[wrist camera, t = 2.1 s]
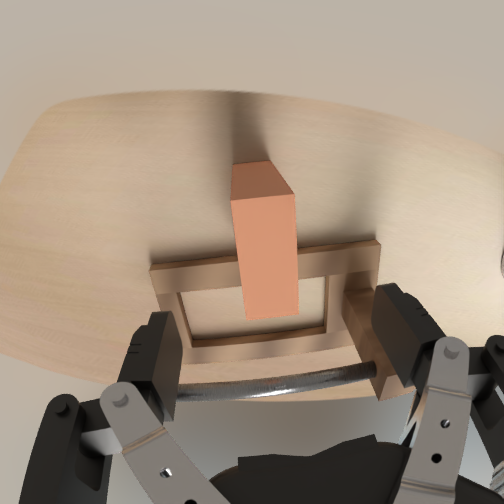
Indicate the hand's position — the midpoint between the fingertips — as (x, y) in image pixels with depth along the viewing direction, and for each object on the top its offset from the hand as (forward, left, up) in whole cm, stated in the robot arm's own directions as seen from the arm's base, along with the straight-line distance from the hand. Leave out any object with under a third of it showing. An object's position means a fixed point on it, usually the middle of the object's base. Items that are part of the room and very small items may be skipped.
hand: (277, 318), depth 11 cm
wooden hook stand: (+3, +10, -15) cm, 18 cm away
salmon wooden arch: (0, 0, -15) cm, 15 cm away
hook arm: (+4, +10, -6) cm, 12 cm away
